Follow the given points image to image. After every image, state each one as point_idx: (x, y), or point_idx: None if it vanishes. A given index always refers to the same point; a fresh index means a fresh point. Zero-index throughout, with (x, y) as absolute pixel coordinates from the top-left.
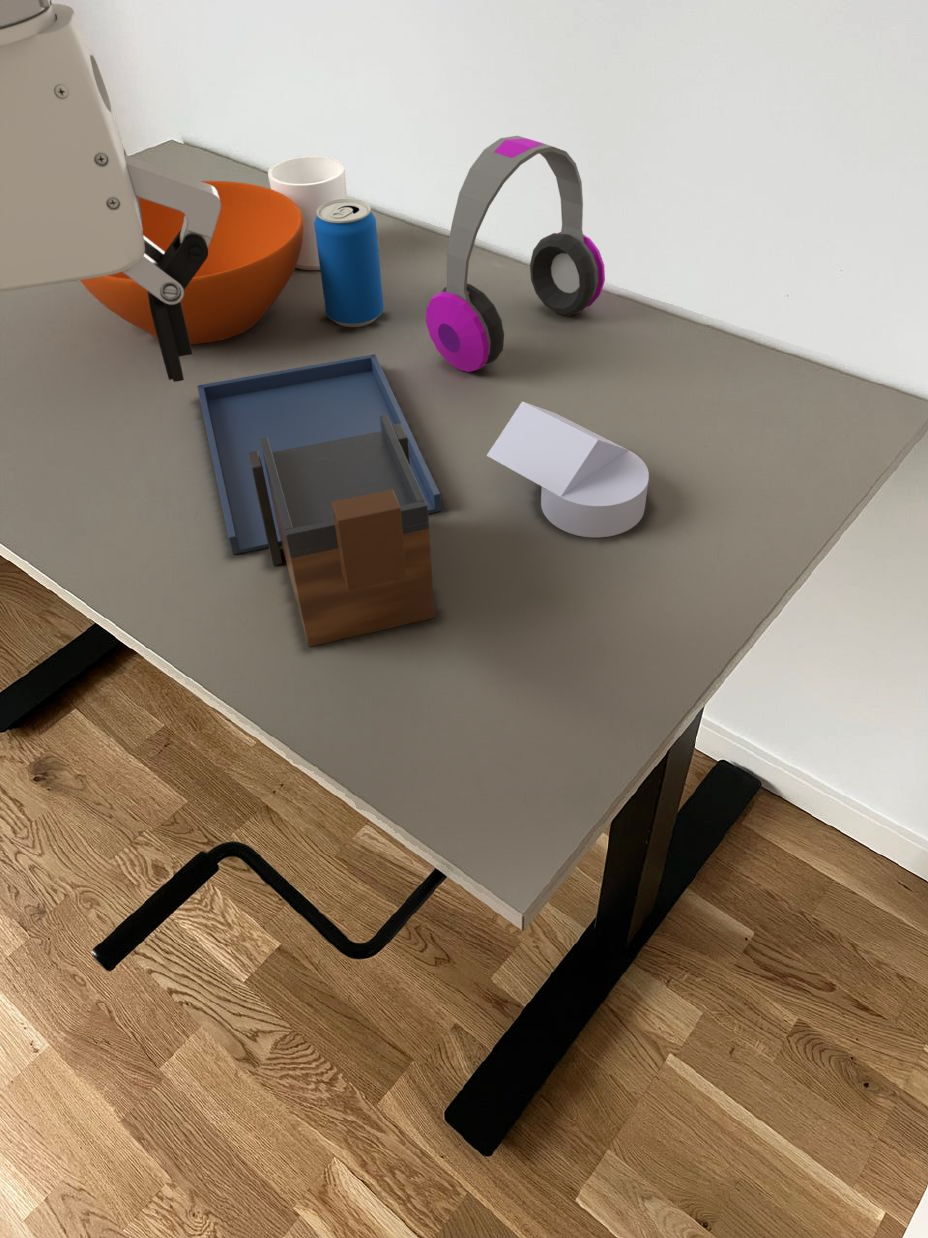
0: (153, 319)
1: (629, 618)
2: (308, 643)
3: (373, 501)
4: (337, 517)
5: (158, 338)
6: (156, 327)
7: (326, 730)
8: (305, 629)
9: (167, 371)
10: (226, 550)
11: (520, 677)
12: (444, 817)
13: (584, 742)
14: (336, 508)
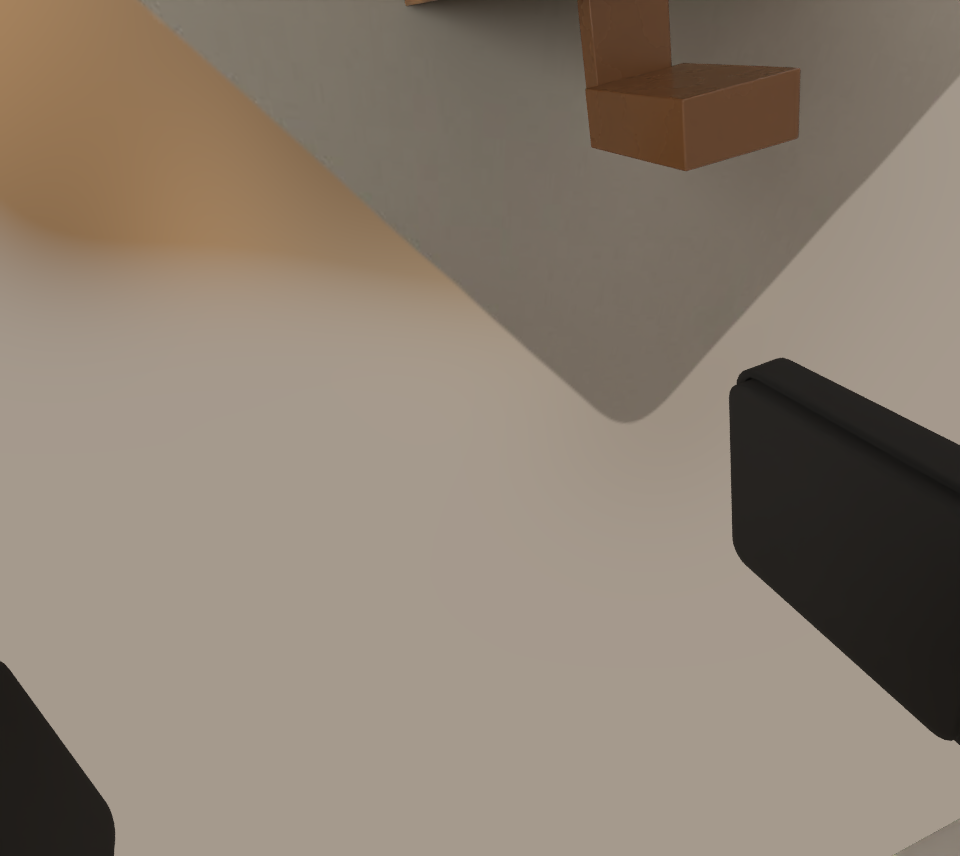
0: (924, 720)
1: (863, 11)
2: (408, 4)
3: (758, 110)
4: (686, 160)
5: (856, 659)
6: (896, 692)
7: (440, 202)
8: (418, 3)
9: (761, 577)
10: None
11: None
12: (575, 342)
13: (739, 239)
14: (689, 128)
